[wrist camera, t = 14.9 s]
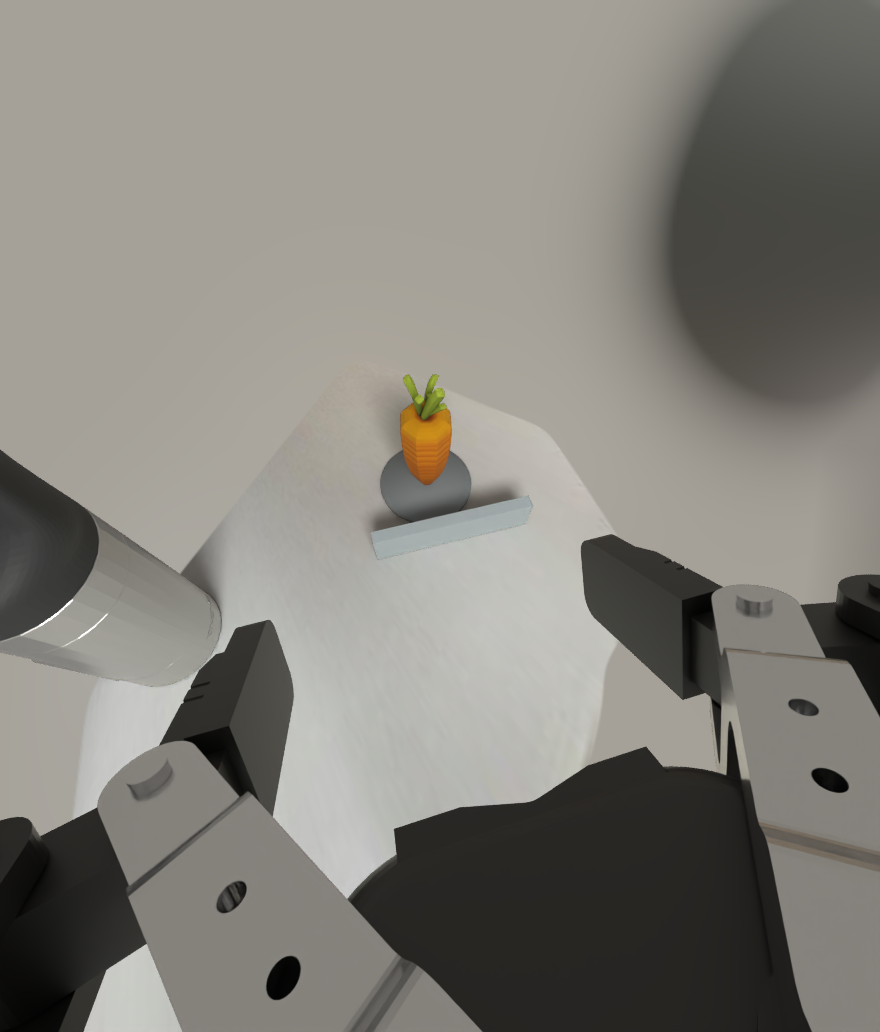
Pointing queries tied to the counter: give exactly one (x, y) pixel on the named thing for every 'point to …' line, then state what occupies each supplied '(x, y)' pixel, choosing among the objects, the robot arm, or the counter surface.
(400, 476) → the rest mat
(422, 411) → the carrot
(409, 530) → the low wall
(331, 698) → the counter surface
